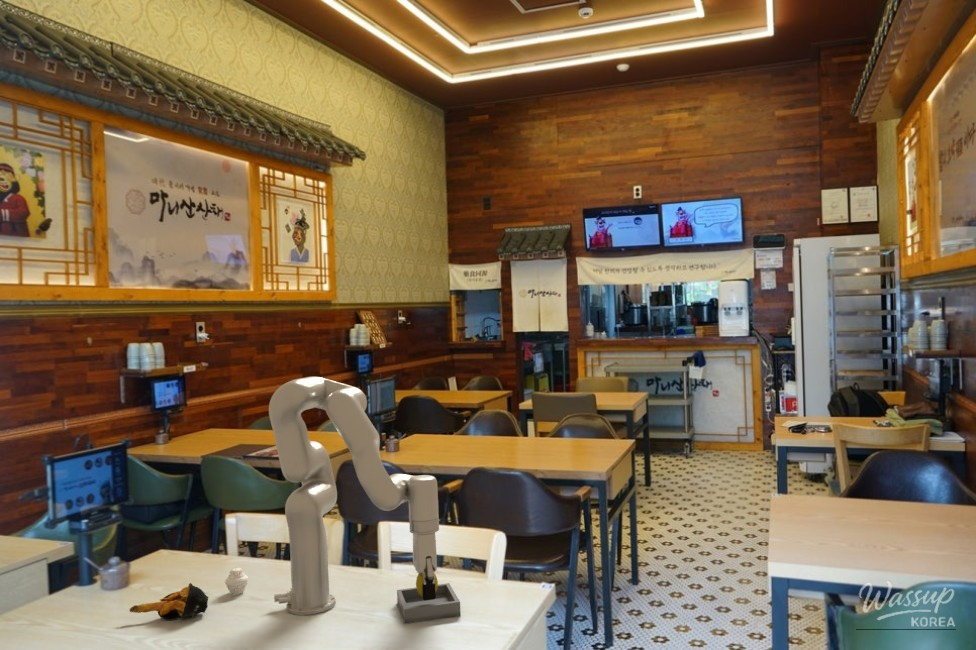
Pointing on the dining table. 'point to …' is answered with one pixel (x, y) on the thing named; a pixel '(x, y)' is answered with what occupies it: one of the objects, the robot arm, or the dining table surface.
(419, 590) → the lemon
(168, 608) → the fried shrimp in bowl
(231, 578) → the white vase
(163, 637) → the dining table surface
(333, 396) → the robot arm
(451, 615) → the tray
